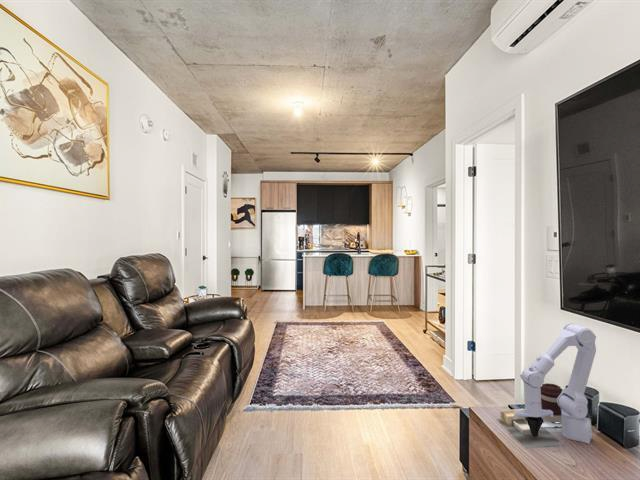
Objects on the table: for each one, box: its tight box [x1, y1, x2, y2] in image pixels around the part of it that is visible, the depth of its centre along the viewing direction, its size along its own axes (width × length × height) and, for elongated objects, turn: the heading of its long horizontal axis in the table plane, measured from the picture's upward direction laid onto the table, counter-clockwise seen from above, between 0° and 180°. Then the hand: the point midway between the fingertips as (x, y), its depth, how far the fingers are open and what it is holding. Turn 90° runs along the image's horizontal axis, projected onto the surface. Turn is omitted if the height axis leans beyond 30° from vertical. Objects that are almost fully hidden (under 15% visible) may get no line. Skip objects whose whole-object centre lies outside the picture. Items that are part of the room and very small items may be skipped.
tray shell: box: [512, 419, 539, 435], centre depth 153 cm, size 12×6×2 cm, turn 1°
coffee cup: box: [541, 383, 564, 423], centre depth 159 cm, size 10×10×15 cm
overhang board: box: [496, 408, 566, 449], centre depth 150 cm, size 23×15×5 cm, turn 1°
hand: (534, 435), depth 145 cm, fingers closed
